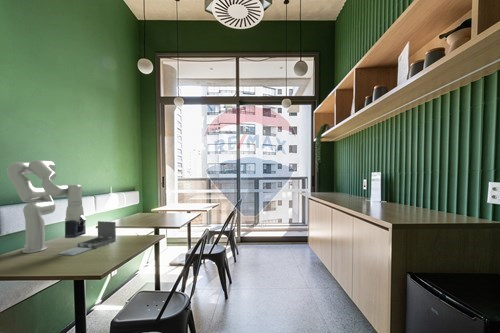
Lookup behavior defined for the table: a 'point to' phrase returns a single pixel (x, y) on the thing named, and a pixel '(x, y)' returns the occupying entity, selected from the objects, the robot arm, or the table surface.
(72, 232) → the small box
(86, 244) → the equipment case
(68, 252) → the rubber mat
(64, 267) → the table surface
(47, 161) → the robot arm
